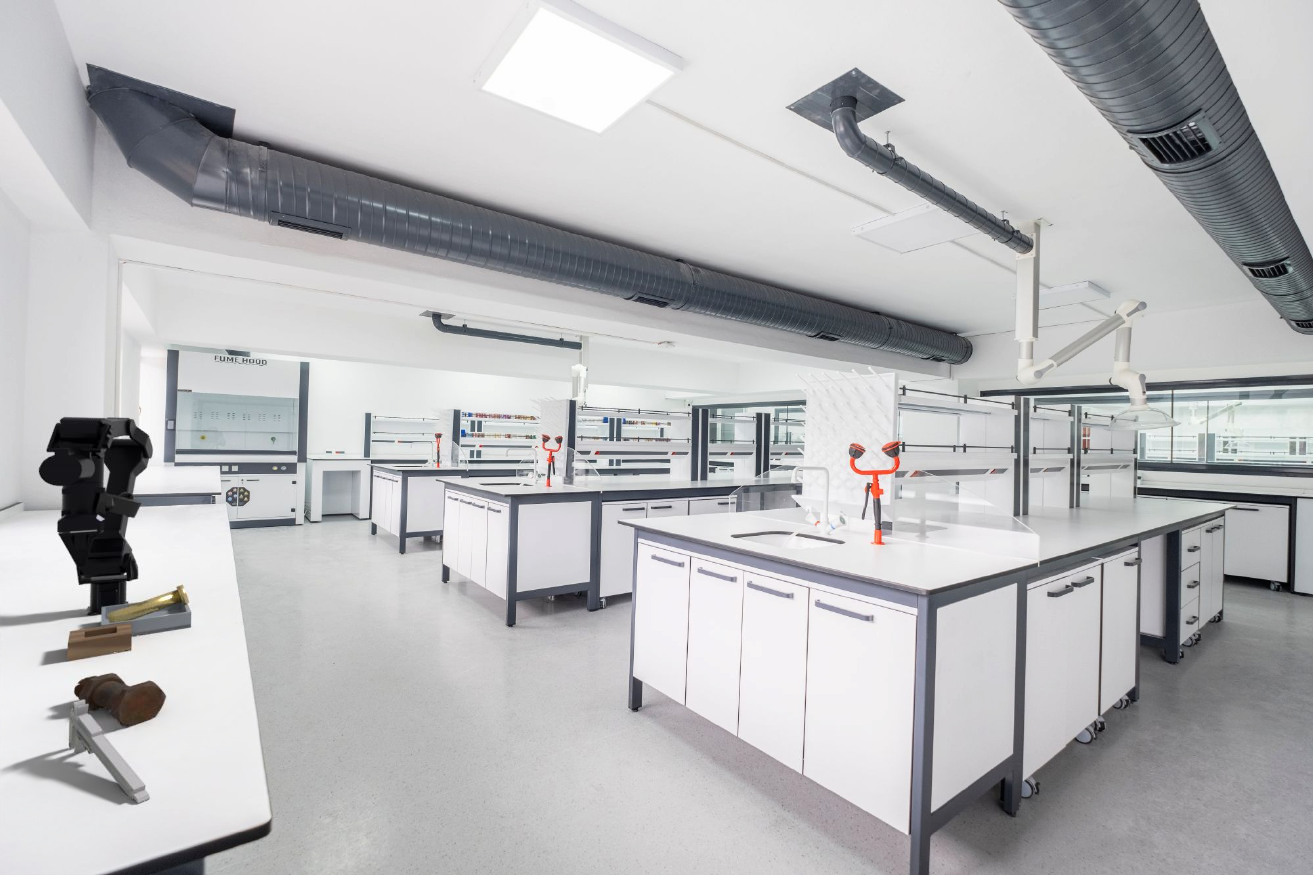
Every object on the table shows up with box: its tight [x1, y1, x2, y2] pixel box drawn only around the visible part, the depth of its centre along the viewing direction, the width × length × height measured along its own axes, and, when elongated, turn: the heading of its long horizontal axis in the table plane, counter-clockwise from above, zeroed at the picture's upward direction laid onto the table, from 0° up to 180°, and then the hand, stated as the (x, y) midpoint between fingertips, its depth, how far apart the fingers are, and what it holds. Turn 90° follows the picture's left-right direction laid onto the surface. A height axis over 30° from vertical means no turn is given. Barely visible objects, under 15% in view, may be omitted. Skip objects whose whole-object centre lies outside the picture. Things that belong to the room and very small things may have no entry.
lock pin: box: [107, 584, 190, 623], centre depth 118 cm, size 4×4×12 cm
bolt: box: [73, 672, 167, 728], centre depth 82 cm, size 6×5×15 cm
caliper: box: [68, 699, 151, 804], centre depth 67 cm, size 20×1×6 cm, turn 60°
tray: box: [100, 601, 192, 637], centre depth 118 cm, size 15×13×3 cm
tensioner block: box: [66, 622, 133, 662], centre depth 104 cm, size 8×8×3 cm
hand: (81, 562), depth 114 cm, fingers open, 9 cm apart
